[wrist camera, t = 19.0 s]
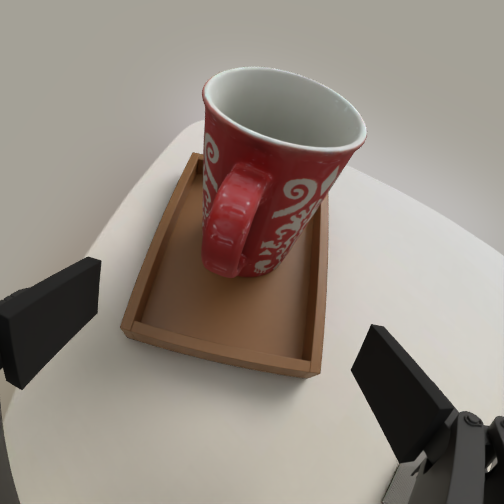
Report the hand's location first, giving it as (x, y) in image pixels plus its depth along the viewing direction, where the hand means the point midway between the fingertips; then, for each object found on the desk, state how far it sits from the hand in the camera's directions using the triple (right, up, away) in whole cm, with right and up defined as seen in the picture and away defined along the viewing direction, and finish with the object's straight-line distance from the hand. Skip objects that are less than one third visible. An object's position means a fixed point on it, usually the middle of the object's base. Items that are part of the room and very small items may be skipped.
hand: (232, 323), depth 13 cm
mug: (0, +3, +12) cm, 12 cm away
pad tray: (0, +3, +12) cm, 12 cm away
